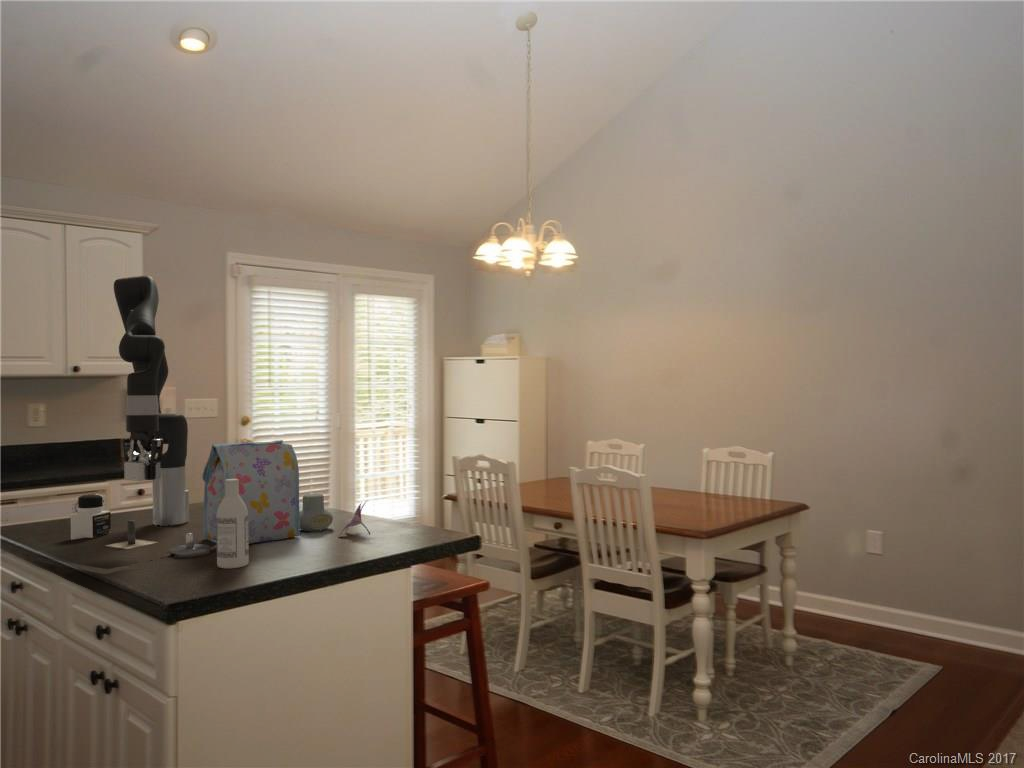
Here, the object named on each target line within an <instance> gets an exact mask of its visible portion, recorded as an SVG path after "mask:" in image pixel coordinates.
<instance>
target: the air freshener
mask: <svg viewBox="0 0 1024 768" xmlns="http://www.w3.org/2000/svg"><path fill="white" fill-rule="evenodd" d="M324 499H325V498H324V495H323V494H322V493H309V494H308V493H307V494H304V495H303V496H302V510H300V531H304V532H309V533H310V532H311V533H317V532H322V531H324V530H325V529H328V528H329V527H330V526H331V525H332V523H333V521H334V516H333V514H332V513H331V512H330V511H329V510H328V509H325V505H324V504H325V501H324Z"/></svg>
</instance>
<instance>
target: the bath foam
mask: <svg viewBox="0 0 1024 768" xmlns="http://www.w3.org/2000/svg"><path fill="white" fill-rule="evenodd" d="M225 494H226V495H225V497H224V499H223V500H222V502H221V503H220V505H219V507H218V510H217V517H216V525H217V543H216V564H217V565H216V566H217V567H218V568H221V569H231V570H232V569H238V568H239V569H240V568H244V567H246V566H248V564H249V562H250V560H249V559H250V558H249V556H250V555H249V551H250V550H249V548H250V546H249V540H248V511H247V507H246V505H245V503H244V502H243V500H242V499H241V497H240V496H239V480H238V479H227V480H225Z"/></svg>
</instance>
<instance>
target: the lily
mask: <svg viewBox="0 0 1024 768" xmlns="http://www.w3.org/2000/svg"><path fill="white" fill-rule="evenodd" d="M367 501H368V500H366V501H365V502H364V503H363V504H362V502H363V501H361V502H360V504H359V505H358V507H357V508H356V510H355V512H354V515H353V514H350V515H348V516H347V517H348V518H351V521H350V522H349V523H347V524H346V525H345V527H344V528H343V529H342V531H341V532H340V534H339V535H338V537H340V536H341V534H342V533H343V532H344V531H345V533H344V534H346V533H347V531H348V530H349V528H351V527H355V526H357V525H362V526H363V527H364V528H365V529H366V531H367V532H368V534H369V535H371V532H370V530H369V529H368V527H367V526H366V525H365V524H364V523H363V522H362V510H363V508H364V506H365V505H366V503H367ZM361 504H362V505H361Z"/></svg>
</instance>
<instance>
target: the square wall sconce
mask: <svg viewBox="0 0 1024 768" xmlns="http://www.w3.org/2000/svg"><path fill="white" fill-rule="evenodd" d="M123 462H124V468H123V469H124V470H123V471H124V472H123V473H124V481H131V482H132V481H133V482H144V481H147V480H146V462H145V460H140V461H133V462H127V461H123ZM155 479H160V462H159V463H157V464H156V478H155Z"/></svg>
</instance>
